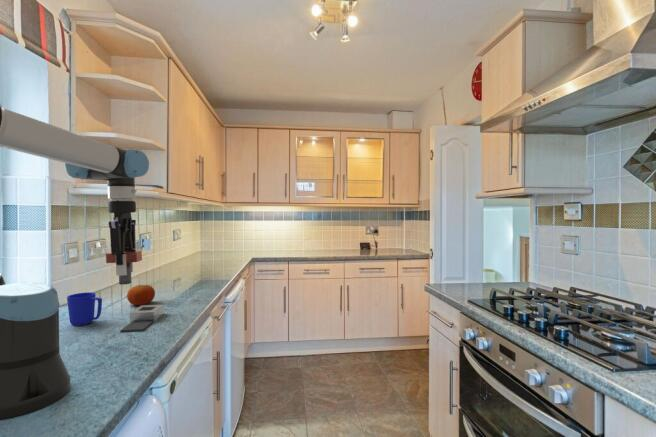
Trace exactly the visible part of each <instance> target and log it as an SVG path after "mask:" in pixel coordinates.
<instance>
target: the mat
mask: <svg viewBox="0 0 656 437" xmlns="http://www.w3.org/2000/svg"><path fill="white" fill-rule="evenodd" d="M153 323H154V322H153V321H135V322H131V323H130V322H129V323H128V324H127V325H126V326H124V327H123V328H121V329H120V333H128V332H132V333H133V332H144V331H145V330H146V329H148V328H149V327H150V326H151V325H152V324H153Z"/></svg>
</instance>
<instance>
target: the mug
mask: <svg viewBox="0 0 656 437" xmlns="http://www.w3.org/2000/svg"><path fill="white" fill-rule="evenodd" d="M66 301H67V308H68V316H69V317H68V318H69V319H68V320H69V322H70V325H71V326H84V325H88V324H90V323H92V322H93V321H94V320H95V321H96V320H98V319H99V318H100V317H101V314H102V307H103V298H101V297H96V293H95V292H79V293H74V294H73V293H72V294H70V295H67V296H66ZM96 301H97V311H96V310H95V307H96ZM95 311H96V312H97V313H96V316H95Z"/></svg>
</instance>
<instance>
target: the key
mask: <svg viewBox="0 0 656 437" xmlns="http://www.w3.org/2000/svg"><path fill="white" fill-rule="evenodd" d="M142 252H143V251H142V250H136V251H126V252H124V254H126V271H127V275H118V284H119V285H130V284H132V272H131V262H133V263H138V262H140V261H142V260H143V253H142ZM105 263H106V264H116V255H112V253H111V251H109V252H107V253H105Z"/></svg>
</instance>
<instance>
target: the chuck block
mask: <svg viewBox="0 0 656 437" xmlns="http://www.w3.org/2000/svg"><path fill="white" fill-rule="evenodd" d="M164 310H165V309H164V304H145V305H139V306H138V307H137V308H135V309H134V310H132V311H130V312H129V324H130V323H131V322H135V321H153V323H154V322H155V321H157V320H158V319H159V318H160V317H162V316H163V315H164Z"/></svg>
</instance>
